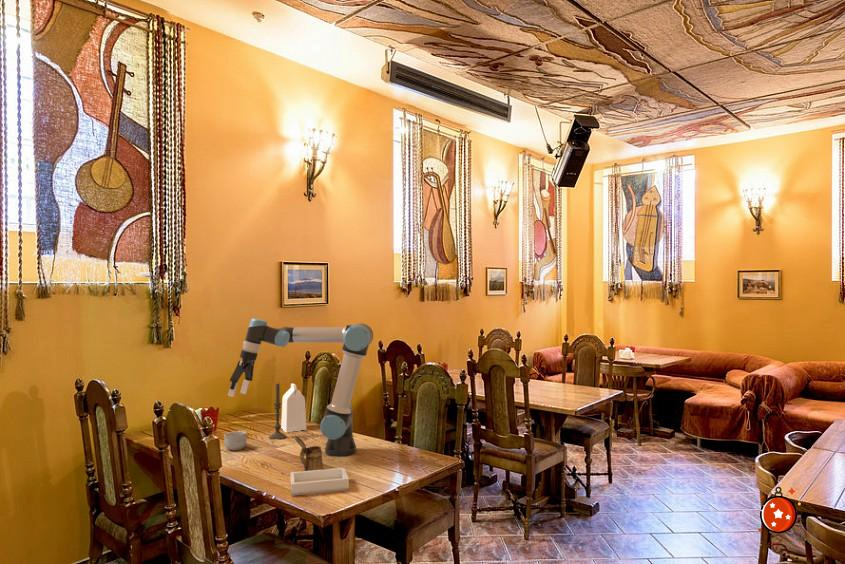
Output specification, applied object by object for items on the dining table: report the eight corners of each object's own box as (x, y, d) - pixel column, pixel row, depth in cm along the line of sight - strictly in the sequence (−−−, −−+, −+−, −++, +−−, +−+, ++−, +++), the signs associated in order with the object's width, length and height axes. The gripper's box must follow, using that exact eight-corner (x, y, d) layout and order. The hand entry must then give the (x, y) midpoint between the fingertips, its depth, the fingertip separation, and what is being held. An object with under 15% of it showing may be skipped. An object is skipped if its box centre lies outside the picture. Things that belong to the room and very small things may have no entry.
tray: (344, 478, 233) (344, 467, 233) (348, 490, 219) (348, 478, 219) (290, 483, 228) (290, 472, 228) (291, 496, 213) (291, 484, 213)
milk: (281, 428, 323) (281, 383, 324) (300, 426, 329) (300, 382, 330) (286, 432, 313) (286, 386, 314) (306, 430, 318) (306, 384, 319)
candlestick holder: (285, 434, 308) (284, 380, 309) (287, 438, 300) (287, 382, 300) (268, 436, 305) (267, 381, 306) (269, 440, 296) (269, 384, 297)
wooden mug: (289, 476, 237) (289, 433, 237) (317, 469, 246) (317, 428, 246) (299, 481, 230) (299, 437, 230) (328, 474, 239) (328, 432, 239)
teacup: (239, 452, 274) (239, 436, 274) (219, 451, 276) (219, 435, 276) (253, 445, 287) (253, 429, 288) (234, 444, 290) (234, 428, 290)
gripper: (253, 348, 275) (240, 390, 274) (231, 349, 250) (217, 395, 249) (267, 352, 274) (254, 394, 273) (246, 353, 250) (232, 399, 248)
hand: (236, 394), depth 261 cm, fingers open, 13 cm apart
